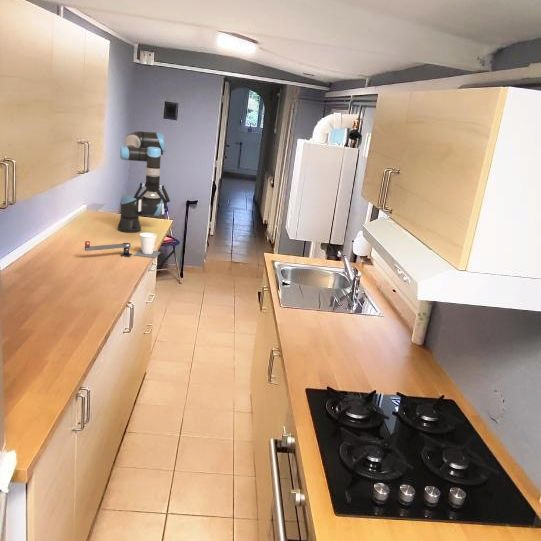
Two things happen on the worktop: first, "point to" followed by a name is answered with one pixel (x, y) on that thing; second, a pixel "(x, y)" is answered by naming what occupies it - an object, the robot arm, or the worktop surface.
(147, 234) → the cup
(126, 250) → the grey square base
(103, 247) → the lever
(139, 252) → the mat
